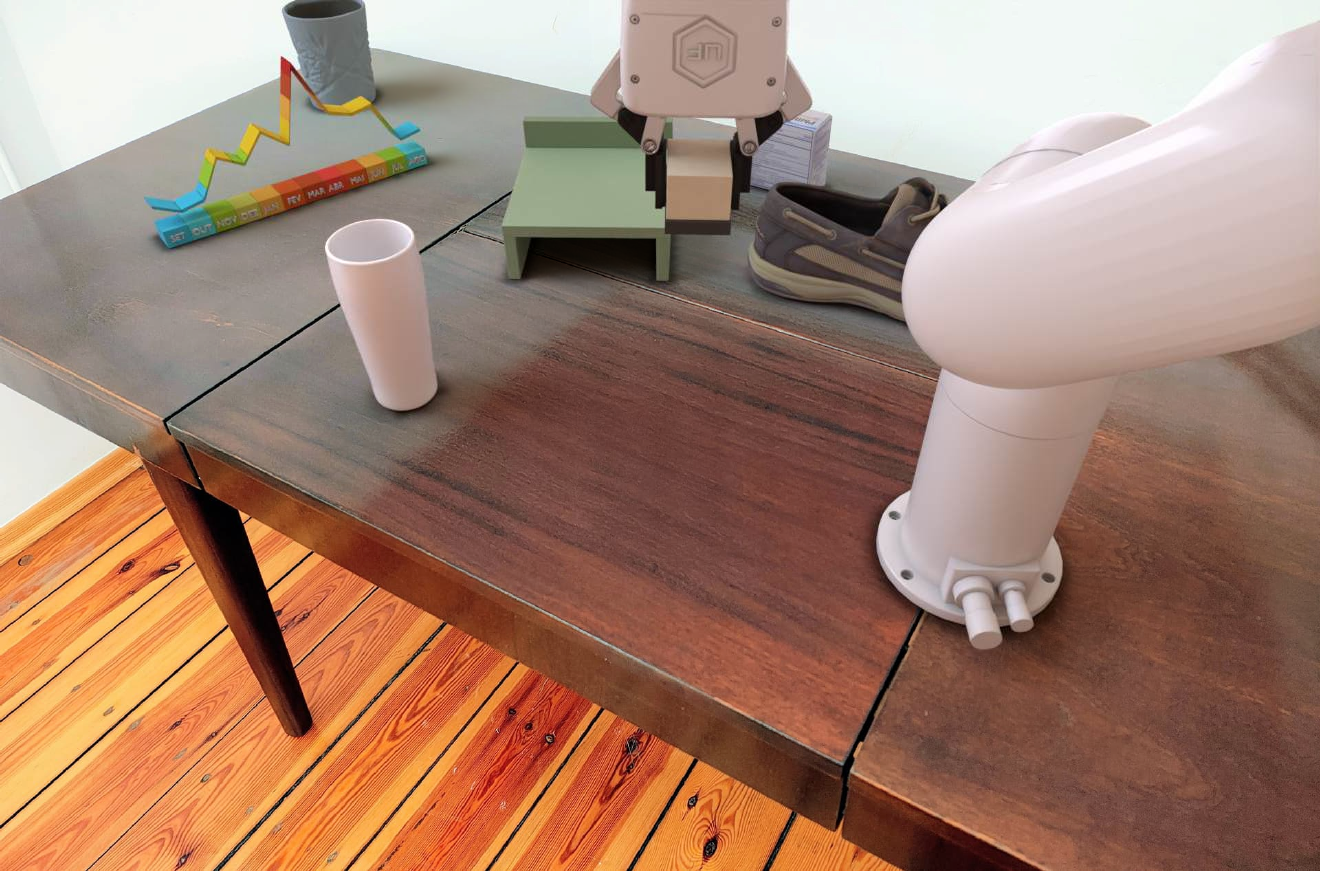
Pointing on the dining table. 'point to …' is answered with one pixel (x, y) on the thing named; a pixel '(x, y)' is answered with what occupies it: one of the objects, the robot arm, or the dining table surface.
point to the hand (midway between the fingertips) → (696, 197)
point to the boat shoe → (840, 242)
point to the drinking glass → (386, 308)
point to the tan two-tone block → (698, 187)
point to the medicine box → (794, 152)
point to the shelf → (582, 188)
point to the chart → (288, 191)
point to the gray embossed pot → (332, 48)
